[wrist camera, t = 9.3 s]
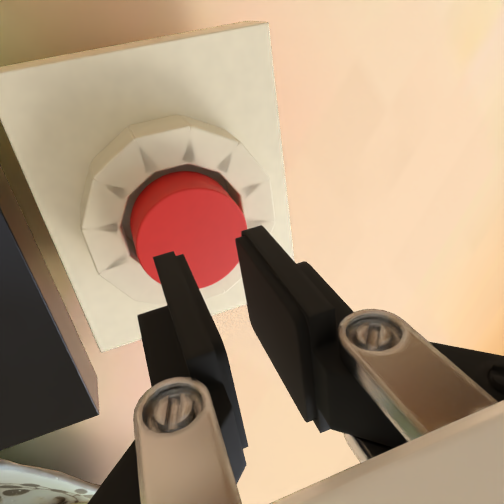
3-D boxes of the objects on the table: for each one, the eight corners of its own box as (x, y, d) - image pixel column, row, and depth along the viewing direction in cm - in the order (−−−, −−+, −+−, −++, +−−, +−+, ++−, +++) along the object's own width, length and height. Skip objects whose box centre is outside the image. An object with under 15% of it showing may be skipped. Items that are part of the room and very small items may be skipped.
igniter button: (116, 186, 14) (120, 206, 13) (223, 158, 15) (239, 174, 13) (145, 278, 16) (153, 304, 15) (239, 249, 17) (255, 272, 15)
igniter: (-8, 67, 15) (-32, 84, 11) (247, 20, 17) (291, 22, 13) (98, 322, 20) (103, 383, 17) (279, 265, 22) (315, 309, 19)
